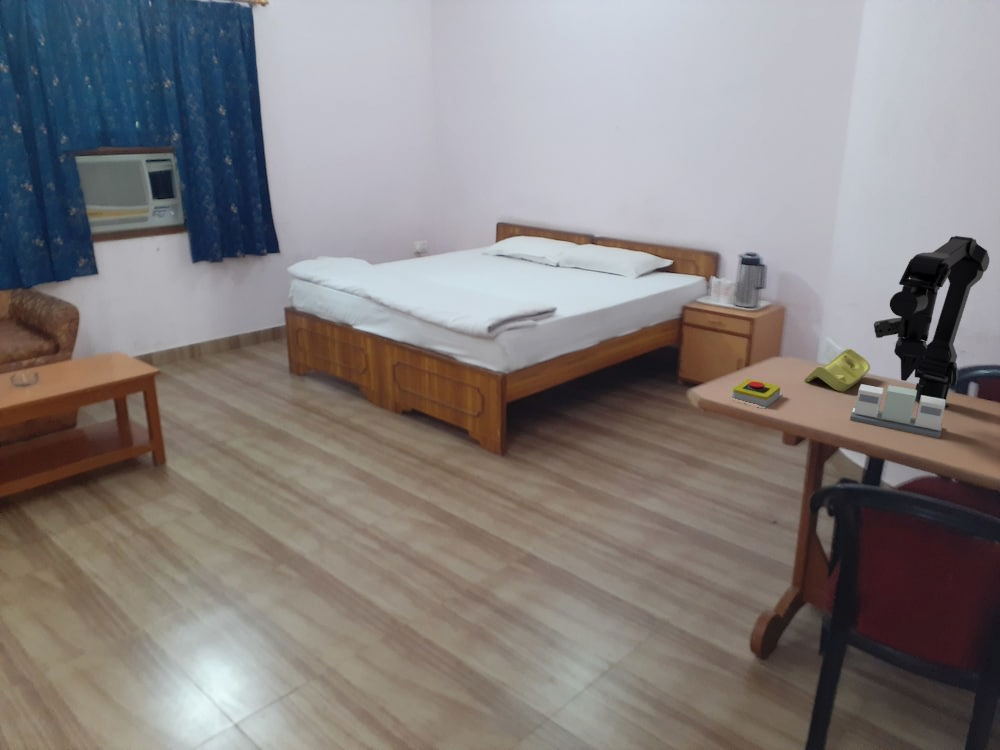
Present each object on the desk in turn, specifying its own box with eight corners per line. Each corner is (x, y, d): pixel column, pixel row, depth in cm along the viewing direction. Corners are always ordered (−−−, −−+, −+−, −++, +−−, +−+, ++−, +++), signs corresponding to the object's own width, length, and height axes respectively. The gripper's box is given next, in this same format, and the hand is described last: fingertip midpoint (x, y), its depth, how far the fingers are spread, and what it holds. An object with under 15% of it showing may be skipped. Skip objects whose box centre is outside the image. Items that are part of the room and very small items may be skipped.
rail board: (940, 427, 175) (947, 398, 173) (940, 438, 169) (947, 408, 166) (853, 410, 184) (859, 382, 182) (849, 419, 178) (855, 391, 175)
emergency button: (729, 385, 186) (750, 372, 198) (727, 402, 188) (748, 387, 199) (766, 394, 181) (785, 379, 193) (763, 411, 183) (782, 395, 194)
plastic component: (847, 386, 195) (816, 362, 199) (831, 406, 199) (801, 382, 204) (875, 366, 208) (845, 344, 212) (860, 385, 212) (830, 363, 216)
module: (910, 417, 177) (916, 390, 175) (909, 424, 173) (916, 396, 170) (882, 412, 180) (888, 385, 177) (881, 418, 175) (887, 390, 173)
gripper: (883, 298, 180) (870, 359, 186) (876, 313, 165) (863, 379, 170) (934, 304, 175) (920, 367, 180) (933, 321, 160) (917, 388, 165)
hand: (904, 375), depth 174 cm, fingers open, 9 cm apart
